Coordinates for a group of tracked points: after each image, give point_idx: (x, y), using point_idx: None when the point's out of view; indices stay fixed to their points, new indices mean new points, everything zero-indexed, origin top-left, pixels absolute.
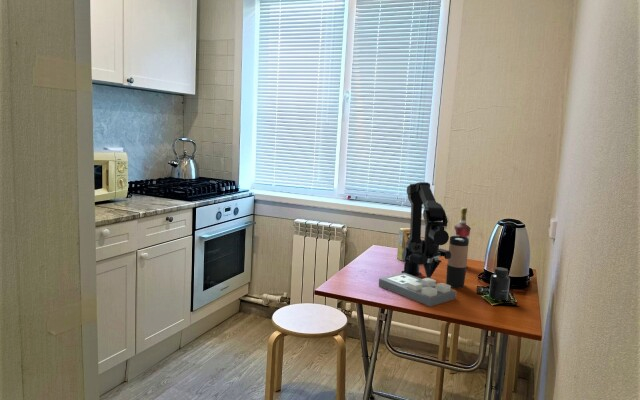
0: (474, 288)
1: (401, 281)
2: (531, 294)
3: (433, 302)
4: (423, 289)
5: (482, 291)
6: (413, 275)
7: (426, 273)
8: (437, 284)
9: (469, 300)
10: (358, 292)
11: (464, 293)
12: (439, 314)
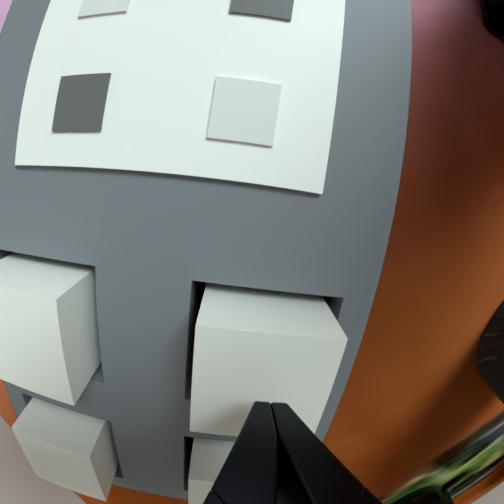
0: (500, 408)
1: (66, 99)
2: (496, 485)
3: None
4: (19, 434)
5: (476, 443)
6: (496, 33)
7: (235, 443)
8: (203, 485)
9: None
10: None
11: (411, 440)
12: None
